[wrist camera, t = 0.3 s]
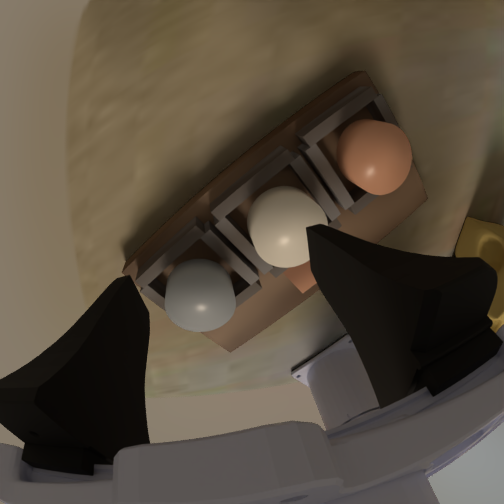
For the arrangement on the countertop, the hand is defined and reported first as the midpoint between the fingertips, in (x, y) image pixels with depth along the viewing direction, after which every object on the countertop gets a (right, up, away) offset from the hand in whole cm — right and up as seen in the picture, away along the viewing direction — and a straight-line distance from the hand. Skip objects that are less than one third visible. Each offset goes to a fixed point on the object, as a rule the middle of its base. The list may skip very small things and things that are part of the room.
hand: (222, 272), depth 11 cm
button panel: (+4, +3, +10) cm, 11 cm away
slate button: (-2, -2, +8) cm, 8 cm away
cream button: (+3, +3, +7) cm, 8 cm away
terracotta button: (+8, +7, +5) cm, 12 cm away
